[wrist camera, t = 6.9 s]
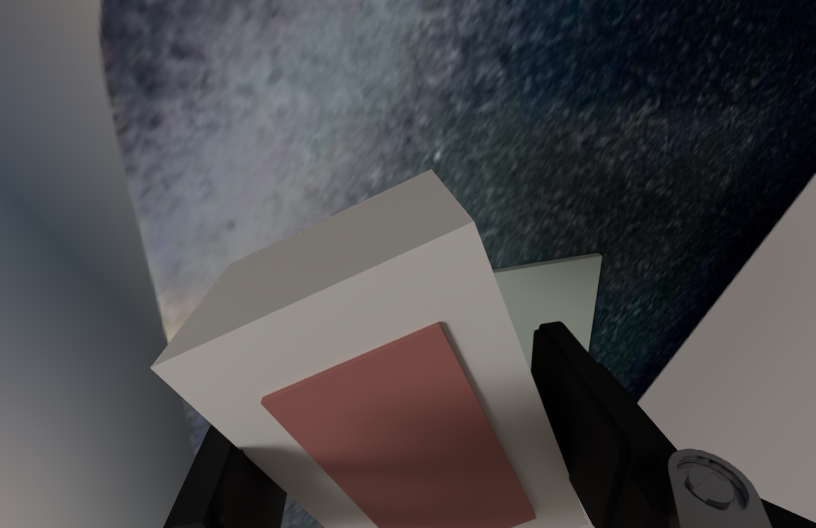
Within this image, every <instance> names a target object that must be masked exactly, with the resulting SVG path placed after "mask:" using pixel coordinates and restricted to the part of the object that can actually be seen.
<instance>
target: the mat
mask: <svg viewBox="0 0 816 528" xmlns="http://www.w3.org/2000/svg"><path fill="white" fill-rule="evenodd" d="M601 261H602V255H600V254H599V253H594V254H588V255H582V256H575V257H569V258H563V259H556V260H550V261H544V262H537V263H531V264H525V265H519V266H512V267H506V268H500V269H493V270H492V271H493V273H494V276H495V279H496V281H497V284H498V287H499V289H500V292H501V295H502V297H503V300H504V303H505V305H506V308H507V311H508V313H509V316H510V319H511V321H512V324H513V327H514V329H515V332H516V335H517V337H518V340H519V343H520V345H521V348H522V351H523V353H524V356H525V359H526V361H527V364H528V367H529V369H530V372H531V359H532V347H533V334H534V331H535V330H537V329H539V326H540V324H543V323H550V322H556V321H561V322H563V323H564V324H565V325H566V327H567V328H568V329H569V330H570V331H571V333H572V334H573V335H574V336H575V337H576V339H577V340H578V341H579V342H580V343H581V344H582V346H583V347H584V348H585V349H586V350H587V352H588V350H589V343H590V336H591V329H592V323H593V316H594V309H595V302H596V295H597V288H598V281H599V275H600V268H601Z"/></svg>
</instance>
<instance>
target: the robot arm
mask: <svg viewBox="0 0 816 528" xmlns="http://www.w3.org/2000/svg"><path fill="white" fill-rule="evenodd" d="M531 375H532V377H533V380H534V382H535V385H536V388H537V390H538V393H539V396H540V398H541V401H542V404H543V406H544V409H545V412H546V414H547V417H548V420H549V422H550V425H551V428H552V430H553V433H554V436H555V438H556V441H557V444H558V446H559V449H560V452H561V454H562V457H563V460H564V462H565V465H566V468H567V470H568V473H569V481H570V483H571V484H572V486H573V488H574V490H575V492H576V494H577V496H578V498H579V500H580V501H581V504H582V506H583V507H584V509H585V511H586V513H587V515H588V517H589V519H590V521H591V523H592V524H593V526H594V527H595V528H816V523H815V522H813V521H810V520H808V519H806V518H804V517H801V516H799V515H797V514H795V513H792V512H790V511H788V510H786V509H783V508H781V507H779V506H777V505H774V504H772V503H770V502H768V501H765V500H763V499H761V498H760V497H759V495H758V493H757V491H756V490H755V488H754V486H753V485H752V483H751V482H750V481H749V480H748V479H747V478H746V477H745V475H744V474H743V473H742V472H741V471H739V470H738V469H737V468H735V467H734V466H733V465H731V464H730V463H729V462H727V461H725V460H723V459H722V458H720V457H718V456H716V455H714V454H710V453H708V452H705V451H702V450H695V449H683V450H679V451H678V450H677V449H676V448H675V447H674V446H673V445H672V443H671V442H670V441H669V440H668V439H667V438H666V436H665V435H664V434H663V433H662V432H661V431H660V429H659V428H658V427H657V426H656V425H655V424H654V422H653V421H652V420H651V419H650V418H649V417H648V416H647V414H646V413H645V412H644V411H643V410H642V409H641V407H640V406H639V405H638V404H637V403H636V402H635V400H634V399H633V398H632V397H631V396H630V395H629V393H628V392H627V391H626V390H625V389H624V388H623V387H622V385H621V384H620V383H619V382H618V381H617V380H616V378H615V377H614V376H613V375H612V374H611V373H610V371H609V370H608V369H607V368H606V367H605V366H604V365H603V364H601V363H597V362H596V361H595V360H594V359H593V357H592V356H591V355H590V354H589V353H588V352H587V350H586V349H585V348H584V347H583V346H582V344H581V343H580V342H579V341H578V340H577V339H576V337H575V336H574V335H573V334H572V333H571V331H570V330H569V329H568V328H567V327H566V325H565V324H564V323H563V322H561V321H556V322H550V323H543V324H540V326H539V329H537V330H535V331H534V334H533V347H532V359H531ZM286 496H287V493H286V492H285V491H284V490H283V489H282V488H281V487H280V486H279V485H278V484H277V483H276V482H274V481H273V480H272V479H271V478H270V477H269V476H268V475H267V474H266V473H265V472H264V471H262V470H261V469H260V468H259V467H258V466H257V465H256V464H255V463H254V462H253V461H251V460H250V459H249V458H248V457H247V456H246V455H245V454H244V452H243V449H241V450H239V449H238V448H237V447H236V446H235V445H234V444H233V443H232V442H231V441H230V440H229V439H227V438H226V437H225V436H224V435H223V434H222V433H221V432H220V431H219V430H218V429H217V428H215V427H214V426H213V425H211V426H210V428H209V430H208V431H207V434H206V436H205V438H204V440H203V442H202V444H201V447H200V449H199V451H198V453H197V455H196V457H195V460H194V462H193V464H192V467H191V468H190V471H189V473H188V475H187V477H186V479H185V481H184V484H183V486H182V488H181V490H180V492H179V494H178V497H177V499H176V501H175V503H174V505H173V507H172V510H171V512H170V514H169V516H168V519H167V521H166V523H165V525H164V527H163V528H280V527H281V522H282V517H283V512H284V507H285V502H286Z"/></svg>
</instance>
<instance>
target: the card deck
mask: <svg viewBox="0 0 816 528" xmlns="http://www.w3.org/2000/svg"><path fill="white" fill-rule="evenodd" d="M151 369H152V370H153V371H154V372H155V373H156V374H158V375H159V376H160V377H161V378H162V379H163V380H164V381H165V382H166V383H167V384H168V385H170V386H171V387H172V388H173V389H174V390H175V391H176V392H177V393H178V394H179V395H180V396H182V397H183V398H184V399H185V400H186V401H187V402H188V403H189V404H190V405H191V406H192V407H194V408H195V409H196V410H197V411H198V412H199V413H200V414H201V415H202V416H203V417H205V418H206V419H207V420H208V421H209V422H210V423H211V424H212V425H213V426H214V427H215V428H217V429H218V430H219V431H220V432H221V433H222V434H223V435H224V436H225V437H226V438H227V439H229V440H230V441H231V442H232V443H233V444H234V445H235V446H236V447H237V448H238V449H239V450H241V449H243V452H244V454H245V455H246V456H247V457H248V458H249V459H250V460H251V461H253V462H254V463H255V464H256V465H257V466H258V467H259V468H260V469H261V470H262V471H264V472H265V473H266V474H267V475H268V476H269V477H270V478H271V479H272V480H273V481H274V482H276V483H277V484H278V485H279V486H280V487H281V488H282V489H283V490H284V491H285V492H286V493H288V494H289V495H290V496H291V497H292V498H293V499H294V500H295V501H296V502H297V503H298V504H300V505H301V506H302V507H303V508H304V509H305V510H306V511H307V512H308V513H309V514H310V515H312V516H313V517H314V518H315V519H316V520H317V521H318V522H319V523H320V524H321V525H322V526H324V527H325V528H576V527H579V526H582V525H585V524H587V521H586V518H585V516H584V513H583V510H582V508H581V505H580V503H579V500H578V497H577V494H576V492H575V490H574V488H573V486H572V484H571V483H570V481H569V473H568V470H567V468H566V465H565V462H564V460H563V457H562V454H561V452H560V449H559V446H558V444H557V441H556V438H555V436H554V433H553V430H552V428H551V425H550V422H549V420H548V417H547V414H546V412H545V409H544V406H543V404H542V401H541V398H540V396H539V393H538V390H537V388H536V385H535V382H534V380H533V377H532V375H531V372H530V369H529V367H528V364H527V361H526V359H525V356H524V353H523V351H522V348H521V345H520V343H519V340H518V337H517V335H516V332H515V329H514V327H513V324H512V321H511V319H510V316H509V313H508V311H507V308H506V305H505V303H504V300H503V297H502V295H501V292H500V289H499V287H498V284H497V281H496V279H495V276H494V273H493V271H492V268H491V265H490V263H489V260H488V257H487V255H486V252H485V249H484V247H483V244H482V241H481V239H480V236H479V233H478V231H477V228H476V225H475V223H474V221H473V220H472V218H471V217H470V216H469V215H468V214H467V212H466V211H465V210H464V209H463V207H462V206H461V205H460V204H459V203H458V201H457V200H456V199H455V198H454V196H453V195H452V194H451V193H450V192H449V190H448V189H447V188H446V187H445V185H444V184H443V183H442V182H441V181H440V179H439V178H438V177H437V176H436V174H435V173H434V172H433V171H432V170H429V171H427V172H424V173H422V174H420V175H418V176H416V177H414V178H412V179H410V180H407V181H405V182H403V183H401V184H399V185H397V186H395V187H393V188H391V189H388V190H386V191H384V192H382V193H380V194H378V195H376V196H374V197H372V198H369V199H367V200H365V201H363V202H361V203H359V204H357V205H355V206H352V207H350V208H348V209H346V210H344V211H342V212H340V213H338V214H336V215H333V216H331V217H329V218H327V219H325V220H323V221H321V222H319V223H317V224H314V225H312V226H310V227H308V228H306V229H304V230H302V231H300V232H297V233H295V234H293V235H291V236H289V237H287V238H285V239H283V240H281V241H278V242H276V243H274V244H272V245H270V246H268V247H266V248H264V249H262V250H259V251H257V252H255V253H253V254H251V255H249V256H247V257H245V258H242V259H240V260H238V261H236V262H234V263H232V264H230V265H229V266H228V268H227V269H226V270H225V271H224V273H223V274H222V275H221V277H220V278H219V279H218V281H217V282H216V283H215V284H214V286H213V287H212V288H211V290H210V291H209V292H208V294H207V295H206V296H205V297H204V299H203V300H202V301H201V303H200V304H199V305H198V307H197V308H196V309H195V310H194V312H193V313H192V314H191V316H190V317H189V318H188V320H187V321H186V322H185V323H184V325H183V326H182V327H181V329H180V330H179V331H178V333H177V334H176V335H175V336H174V338H173V339H172V340H171V342H170V343H169V344H168V346H167V347H166V348H165V349H164V351H163V352H162V354H161V355H160V356H159V357H158V359H157V360H156V361H155V362H154V364H153V365H152V366H151Z"/></svg>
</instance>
